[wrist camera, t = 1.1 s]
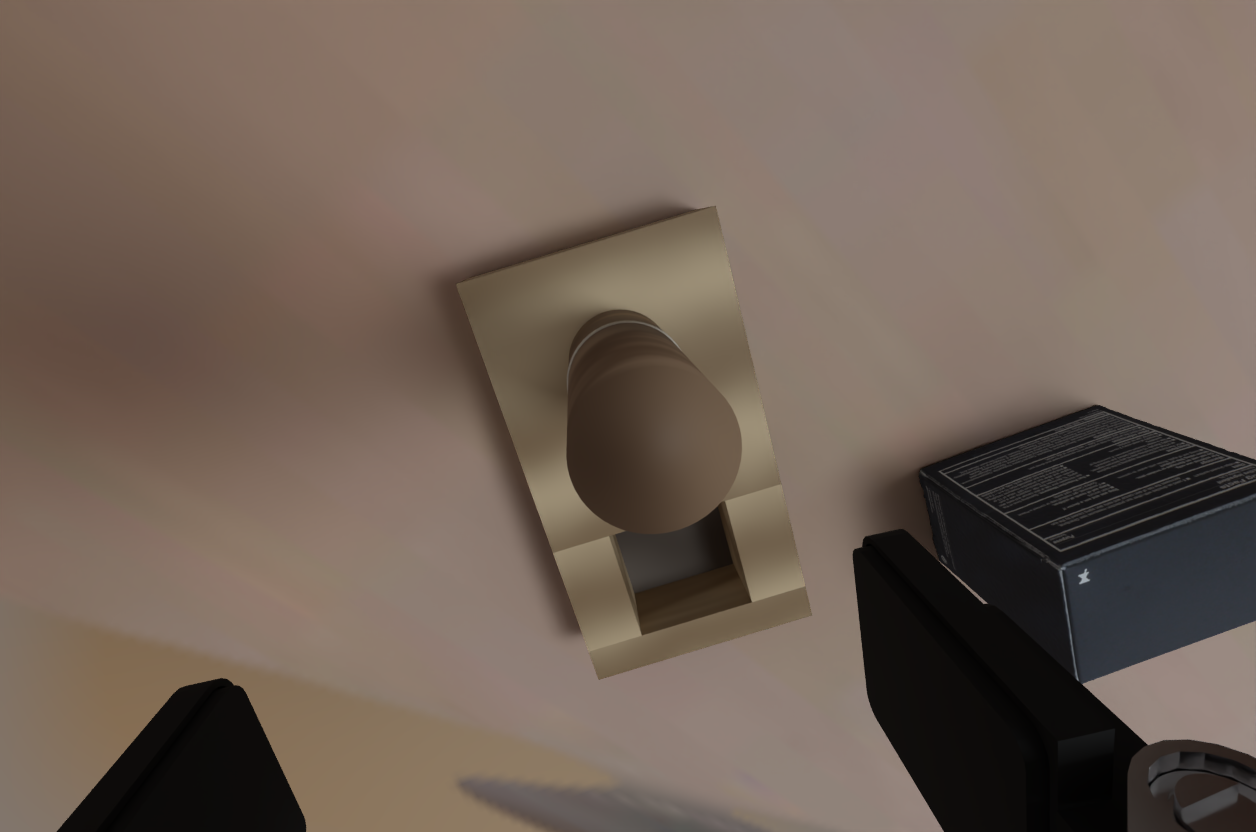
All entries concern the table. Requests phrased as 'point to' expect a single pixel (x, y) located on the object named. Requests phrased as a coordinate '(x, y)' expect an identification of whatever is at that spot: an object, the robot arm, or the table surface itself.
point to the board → (537, 422)
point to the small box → (1101, 536)
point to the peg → (645, 427)
